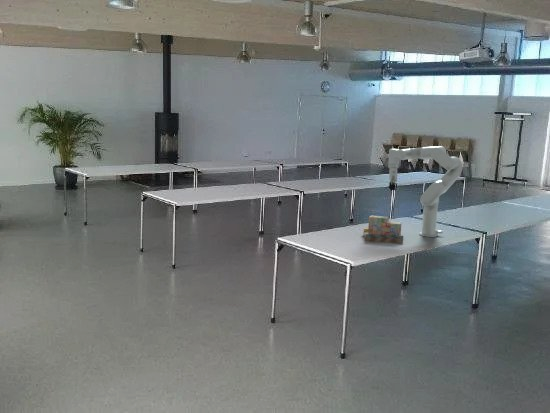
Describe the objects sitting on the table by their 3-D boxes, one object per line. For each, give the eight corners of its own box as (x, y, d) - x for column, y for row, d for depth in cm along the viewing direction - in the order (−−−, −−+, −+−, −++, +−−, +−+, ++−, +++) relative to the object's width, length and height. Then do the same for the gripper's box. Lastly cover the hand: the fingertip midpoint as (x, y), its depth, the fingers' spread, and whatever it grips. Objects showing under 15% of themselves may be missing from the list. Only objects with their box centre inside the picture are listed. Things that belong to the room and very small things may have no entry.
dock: (399, 236, 378) (399, 229, 377) (402, 243, 360) (403, 236, 359) (363, 235, 381) (363, 228, 380) (365, 241, 362) (365, 234, 361)
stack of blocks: (400, 235, 368) (402, 218, 366) (398, 237, 363) (399, 219, 360) (370, 232, 377) (371, 214, 375) (367, 233, 372) (368, 216, 370)
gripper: (400, 167, 385) (398, 191, 388) (397, 164, 401) (395, 187, 405) (389, 166, 385) (388, 190, 388) (387, 164, 402) (385, 187, 405)
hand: (392, 189), depth 396 cm, fingers open, 9 cm apart
